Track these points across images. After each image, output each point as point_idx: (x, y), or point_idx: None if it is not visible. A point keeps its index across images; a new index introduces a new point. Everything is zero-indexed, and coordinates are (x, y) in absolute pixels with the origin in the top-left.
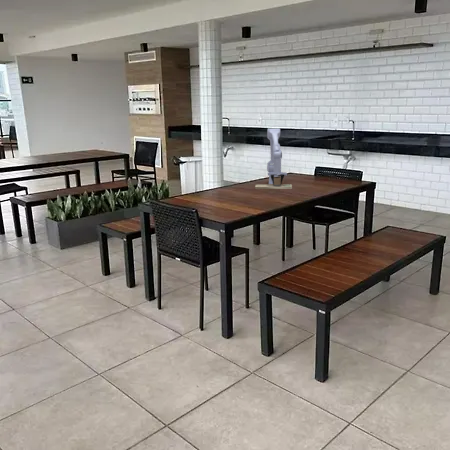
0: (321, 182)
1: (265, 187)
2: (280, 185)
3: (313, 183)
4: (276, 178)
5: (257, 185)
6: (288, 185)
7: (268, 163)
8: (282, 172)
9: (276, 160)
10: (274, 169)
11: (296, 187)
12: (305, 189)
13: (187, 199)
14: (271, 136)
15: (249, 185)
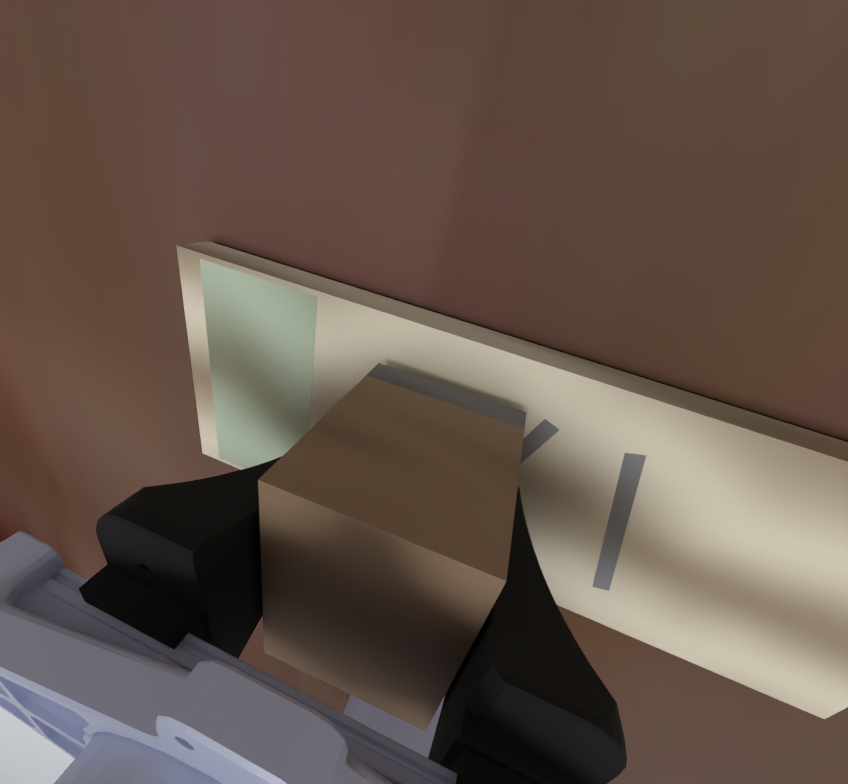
0: (7, 496)
1: (771, 433)
2: (379, 365)
3: (50, 490)
4: (410, 527)
5: (844, 659)
6: (241, 403)
7: None
8: (74, 753)
9: None
10: None
11: (163, 360)
12: (13, 141)
13: None
14: None
15: (819, 779)
